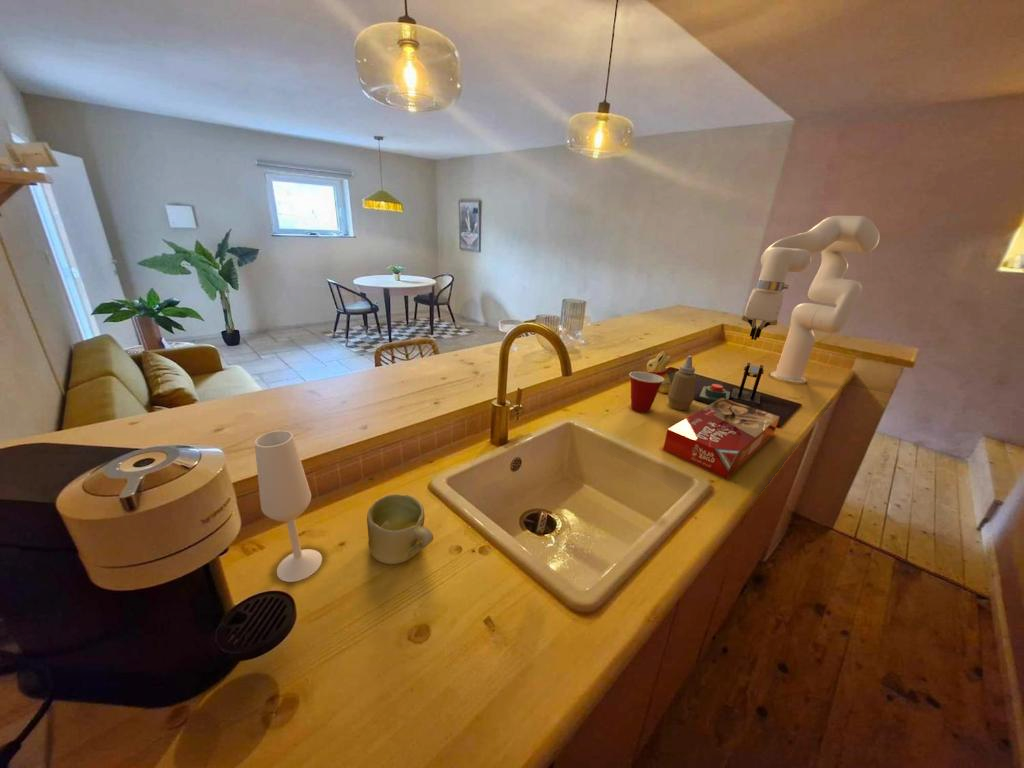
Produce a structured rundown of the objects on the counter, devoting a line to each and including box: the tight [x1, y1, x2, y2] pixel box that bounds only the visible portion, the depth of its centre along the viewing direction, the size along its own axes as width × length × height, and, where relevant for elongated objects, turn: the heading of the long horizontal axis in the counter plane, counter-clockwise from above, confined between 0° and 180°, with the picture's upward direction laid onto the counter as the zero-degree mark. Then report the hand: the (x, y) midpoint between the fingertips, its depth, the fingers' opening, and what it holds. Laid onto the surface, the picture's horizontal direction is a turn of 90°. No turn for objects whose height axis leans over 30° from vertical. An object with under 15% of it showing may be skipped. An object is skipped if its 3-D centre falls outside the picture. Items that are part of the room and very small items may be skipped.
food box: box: [662, 398, 780, 480], centre depth 109 cm, size 35×16×6 cm, turn 132°
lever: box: [743, 365, 760, 379], centre depth 142 cm, size 12×5×2 cm, turn 149°
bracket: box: [730, 362, 765, 405], centre depth 139 cm, size 11×9×13 cm
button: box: [710, 383, 724, 392], centre depth 137 cm, size 4×4×2 cm
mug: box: [366, 493, 434, 565], centre depth 67 cm, size 12×10×10 cm
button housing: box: [698, 385, 731, 404], centre depth 138 cm, size 12×9×4 cm
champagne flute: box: [254, 429, 323, 583], centre depth 60 cm, size 7×7×24 cm
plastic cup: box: [628, 371, 664, 414], centre depth 126 cm, size 11×11×12 cm
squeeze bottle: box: [667, 355, 697, 411], centre depth 128 cm, size 8×8×18 cm
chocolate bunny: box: [645, 350, 672, 394], centre depth 143 cm, size 7×11×15 cm, turn 38°
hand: (753, 339), depth 138 cm, fingers closed
